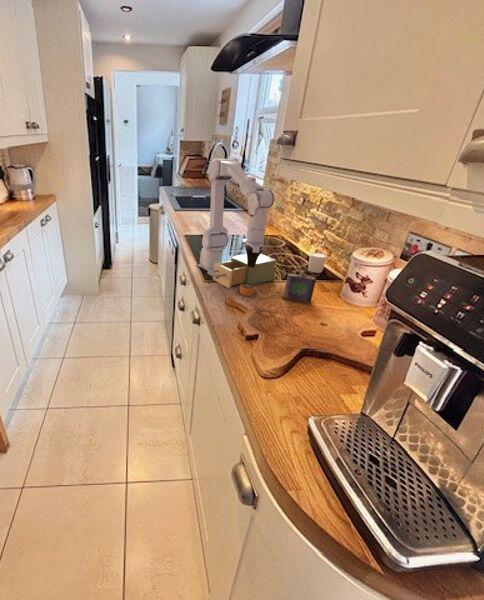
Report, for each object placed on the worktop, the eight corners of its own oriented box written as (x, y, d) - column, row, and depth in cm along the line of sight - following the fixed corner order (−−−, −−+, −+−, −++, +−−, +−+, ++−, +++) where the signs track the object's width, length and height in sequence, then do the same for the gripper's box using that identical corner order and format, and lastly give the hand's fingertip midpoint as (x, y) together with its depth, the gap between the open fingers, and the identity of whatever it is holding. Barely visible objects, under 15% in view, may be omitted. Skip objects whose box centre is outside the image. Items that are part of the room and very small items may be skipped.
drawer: (218, 290, 119) (220, 273, 116) (203, 281, 126) (204, 264, 123) (253, 282, 126) (255, 265, 123) (236, 273, 134) (239, 258, 131)
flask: (282, 298, 116) (288, 270, 111) (283, 295, 118) (289, 267, 113) (310, 303, 112) (317, 275, 108) (310, 300, 115) (317, 272, 110)
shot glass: (303, 268, 143) (306, 253, 140) (314, 266, 146) (318, 251, 142) (315, 274, 137) (319, 258, 134) (327, 272, 140) (331, 256, 137)
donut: (236, 291, 120) (237, 283, 119) (246, 288, 123) (248, 281, 121) (246, 296, 116) (247, 289, 115) (256, 294, 119) (258, 286, 117)
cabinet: (247, 286, 125) (250, 265, 121) (229, 276, 133) (231, 256, 129) (272, 280, 131) (276, 259, 127) (253, 271, 139) (256, 252, 135)
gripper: (242, 222, 116) (238, 258, 122) (245, 232, 103) (240, 272, 109) (263, 223, 115) (257, 259, 121) (268, 234, 102) (261, 274, 108)
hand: (250, 266), depth 115 cm, fingers closed
